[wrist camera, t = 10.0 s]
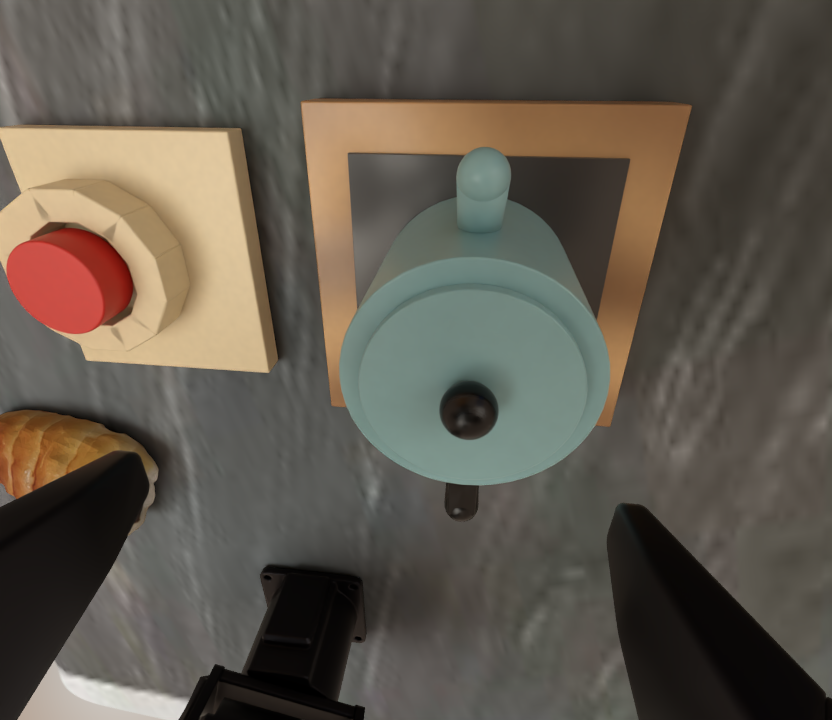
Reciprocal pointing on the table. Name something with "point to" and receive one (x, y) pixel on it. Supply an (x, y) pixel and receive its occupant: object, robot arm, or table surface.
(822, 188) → the table surface
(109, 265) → the button
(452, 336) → the kettle
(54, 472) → the pastry
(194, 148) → the switch block
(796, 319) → the table surface
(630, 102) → the stand
